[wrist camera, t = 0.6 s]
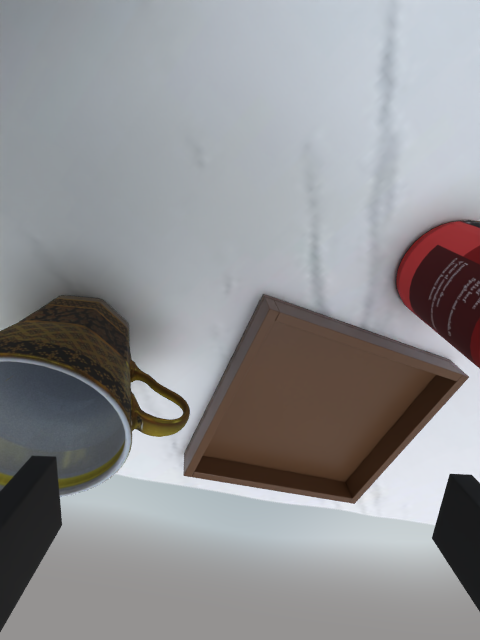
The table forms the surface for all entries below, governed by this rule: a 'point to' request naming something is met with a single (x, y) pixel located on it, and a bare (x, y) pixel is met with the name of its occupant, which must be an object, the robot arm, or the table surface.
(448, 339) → the canned food
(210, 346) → the table surface
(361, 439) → the tray
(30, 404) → the ceramic cup
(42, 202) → the table surface
